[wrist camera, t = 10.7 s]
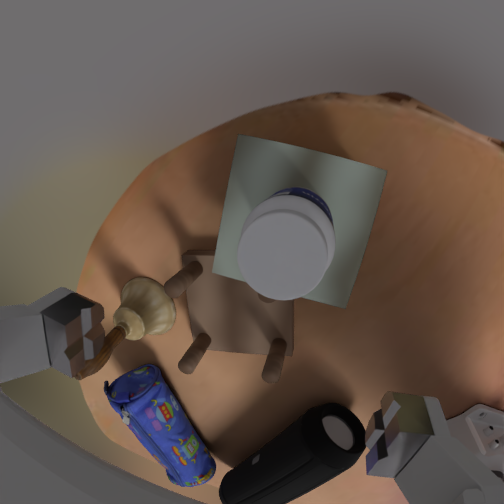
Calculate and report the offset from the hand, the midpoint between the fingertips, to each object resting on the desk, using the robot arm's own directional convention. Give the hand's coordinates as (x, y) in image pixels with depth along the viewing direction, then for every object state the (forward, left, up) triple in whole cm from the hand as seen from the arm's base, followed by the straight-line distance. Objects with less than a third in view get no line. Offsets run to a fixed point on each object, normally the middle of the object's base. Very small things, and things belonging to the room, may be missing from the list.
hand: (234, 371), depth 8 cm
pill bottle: (0, 0, -19) cm, 19 cm away
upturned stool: (+4, +12, -27) cm, 30 cm away
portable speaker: (-8, +35, -27) cm, 45 cm away
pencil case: (+11, +35, -27) cm, 46 cm away
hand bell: (+16, +17, -27) cm, 36 cm away
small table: (0, 0, -27) cm, 27 cm away
